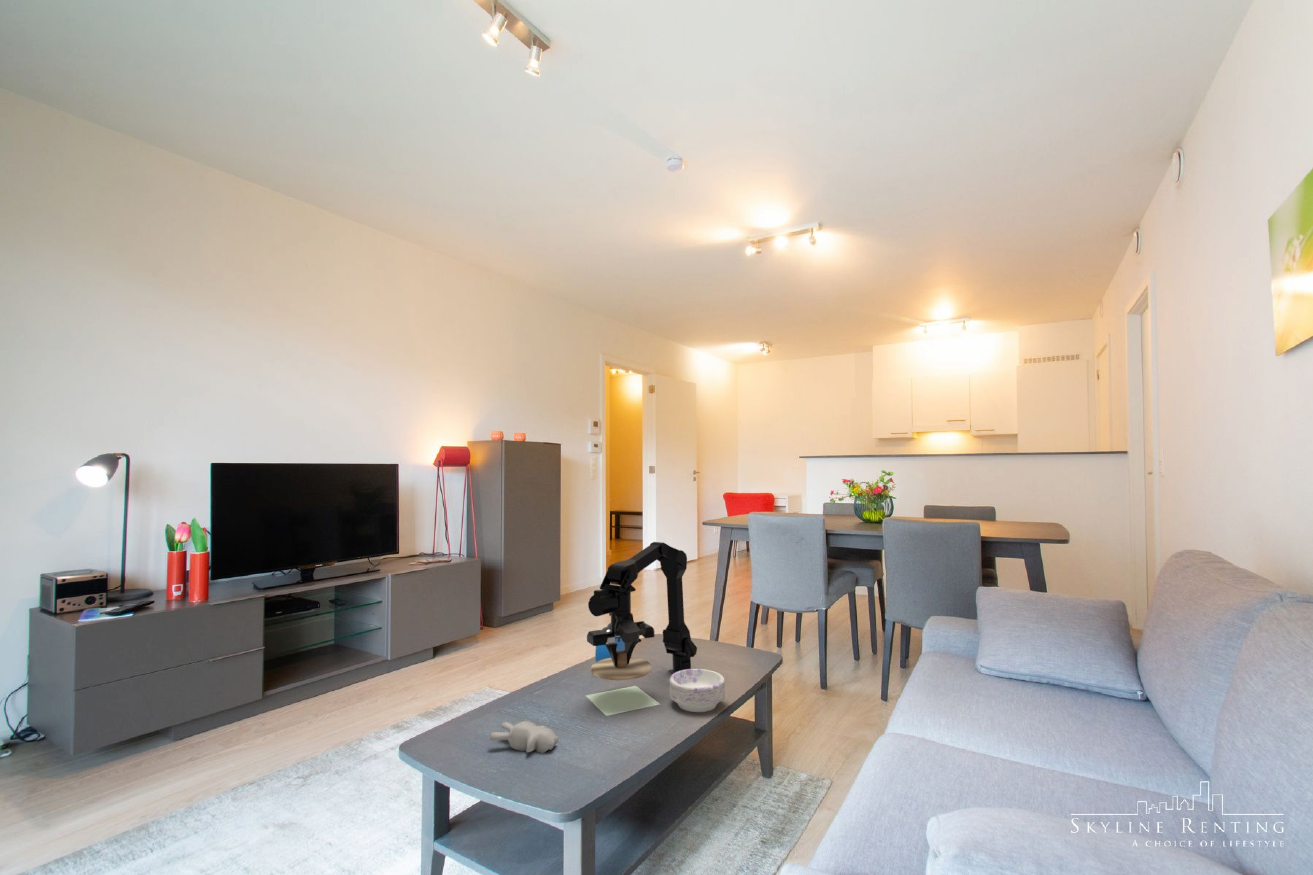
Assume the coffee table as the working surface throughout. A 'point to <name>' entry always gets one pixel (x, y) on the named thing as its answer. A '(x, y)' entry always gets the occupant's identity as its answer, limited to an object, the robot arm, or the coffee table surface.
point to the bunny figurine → (527, 736)
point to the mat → (621, 700)
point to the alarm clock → (602, 649)
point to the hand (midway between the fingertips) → (621, 665)
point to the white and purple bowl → (697, 689)
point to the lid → (621, 668)
